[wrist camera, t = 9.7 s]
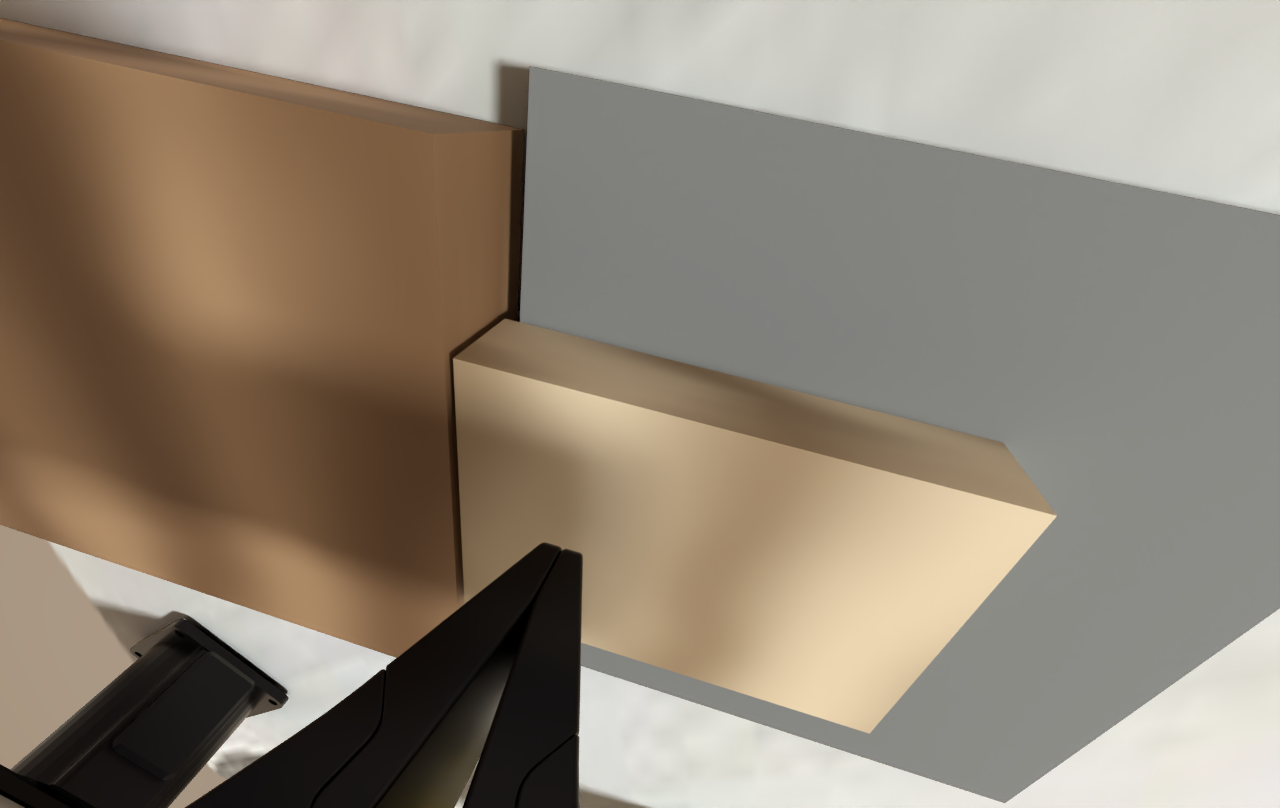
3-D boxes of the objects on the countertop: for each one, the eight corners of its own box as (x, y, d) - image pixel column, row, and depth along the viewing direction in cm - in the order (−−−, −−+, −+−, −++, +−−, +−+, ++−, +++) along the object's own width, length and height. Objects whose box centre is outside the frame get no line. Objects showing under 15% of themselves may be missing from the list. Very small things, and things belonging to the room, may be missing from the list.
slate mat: (520, 616, 17) (507, 641, 16) (552, 70, 9) (529, 65, 8) (992, 766, 16) (1004, 803, 15) (1599, 279, 7) (1711, 301, 6)
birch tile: (501, 546, 14) (464, 605, 12) (504, 318, 10) (453, 358, 8) (856, 653, 13) (869, 733, 11) (1003, 442, 9) (1056, 515, 7)
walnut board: (83, 460, 18) (-27, 516, 16) (-193, -23, 11) (-483, -66, 8) (507, 594, 17) (460, 678, 14) (523, 129, 9) (432, 133, 7)
